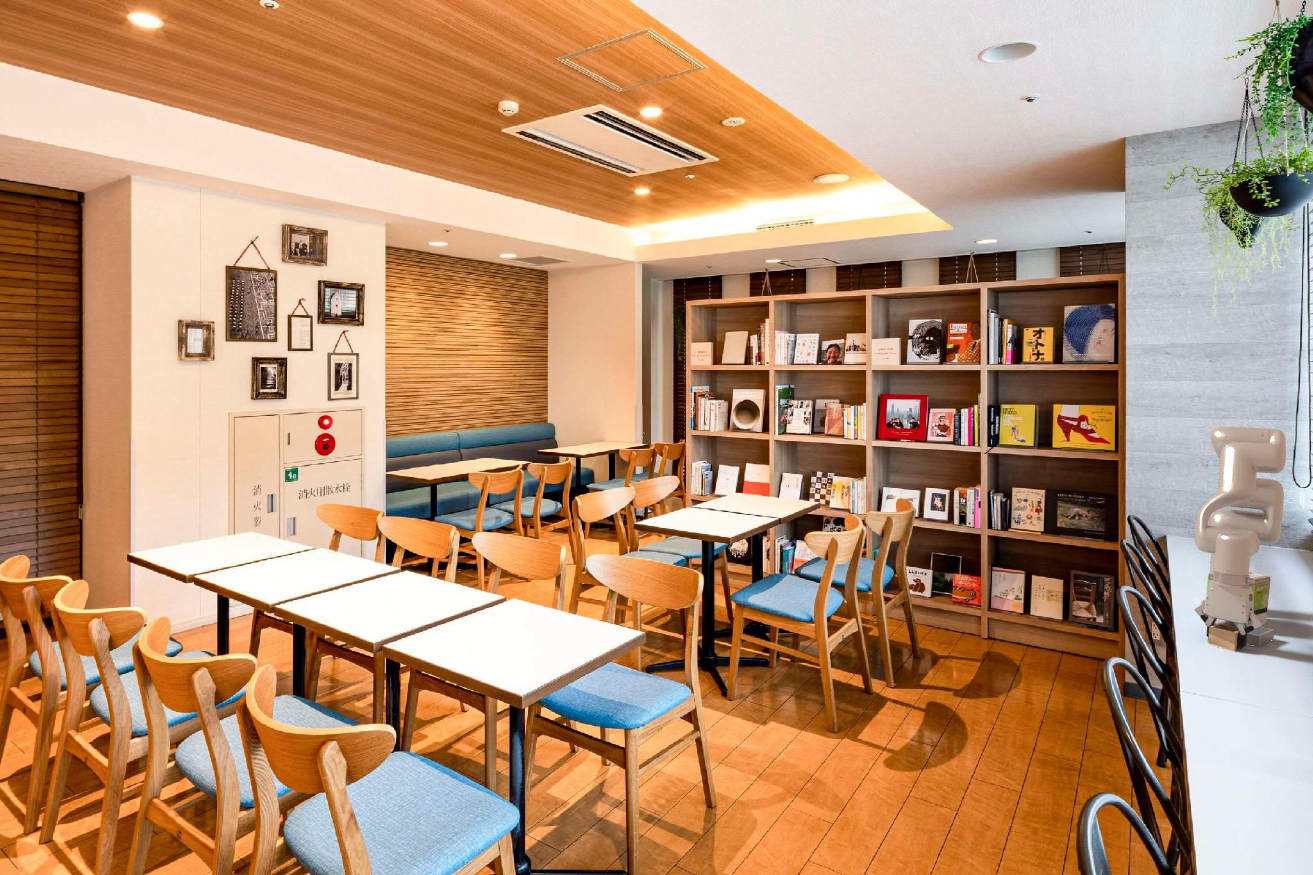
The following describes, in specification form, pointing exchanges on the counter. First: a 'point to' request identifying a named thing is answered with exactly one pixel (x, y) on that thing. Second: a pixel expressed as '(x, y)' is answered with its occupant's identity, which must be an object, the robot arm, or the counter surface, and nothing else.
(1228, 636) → the oak crate
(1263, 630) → the grey square tray
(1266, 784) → the counter surface
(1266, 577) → the tea box
